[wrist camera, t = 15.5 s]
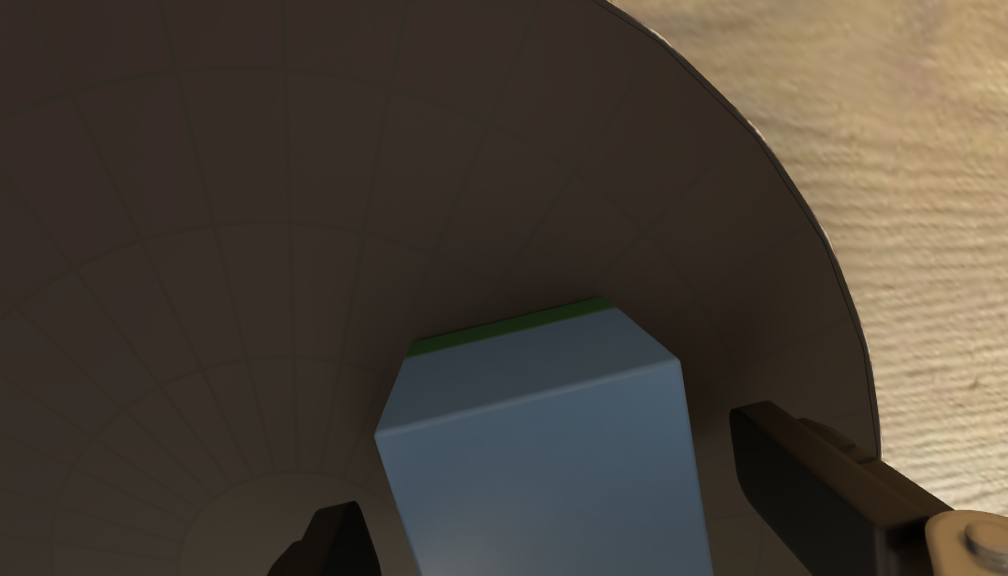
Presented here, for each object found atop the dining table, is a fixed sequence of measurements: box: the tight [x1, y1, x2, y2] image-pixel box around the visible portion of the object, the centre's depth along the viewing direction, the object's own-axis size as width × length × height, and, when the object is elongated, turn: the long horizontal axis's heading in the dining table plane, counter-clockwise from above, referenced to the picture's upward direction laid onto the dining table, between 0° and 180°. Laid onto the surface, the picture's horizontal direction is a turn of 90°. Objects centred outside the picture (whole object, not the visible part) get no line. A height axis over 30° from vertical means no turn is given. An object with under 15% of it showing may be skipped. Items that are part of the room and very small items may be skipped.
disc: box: [0, 0, 883, 576], centre depth 13 cm, size 30×30×3 cm
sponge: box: [374, 296, 714, 576], centre depth 9 cm, size 7×4×4 cm, turn 13°
